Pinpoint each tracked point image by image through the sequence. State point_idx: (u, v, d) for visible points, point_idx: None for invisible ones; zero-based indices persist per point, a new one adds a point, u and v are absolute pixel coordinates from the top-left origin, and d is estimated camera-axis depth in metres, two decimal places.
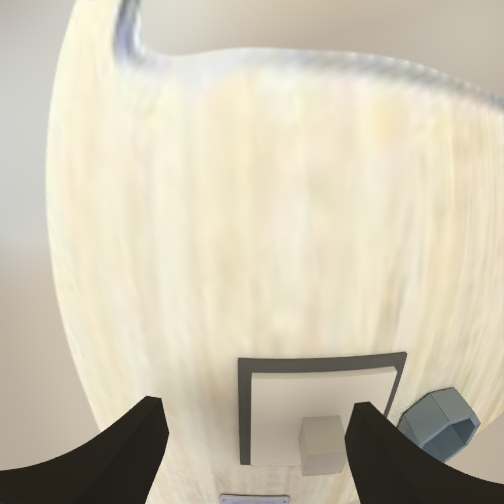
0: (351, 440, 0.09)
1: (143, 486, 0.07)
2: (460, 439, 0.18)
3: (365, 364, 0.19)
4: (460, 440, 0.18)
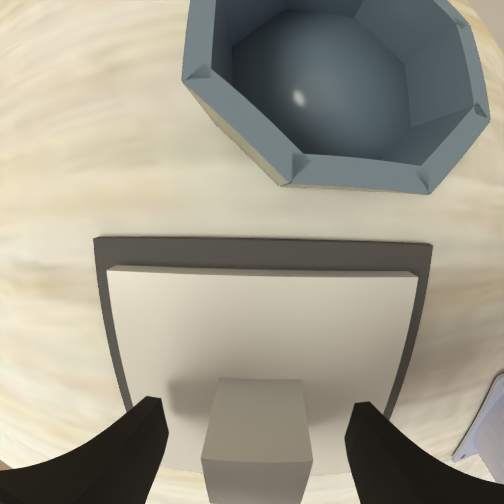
0: (351, 440, 0.09)
1: (143, 486, 0.07)
2: None
3: None
4: None
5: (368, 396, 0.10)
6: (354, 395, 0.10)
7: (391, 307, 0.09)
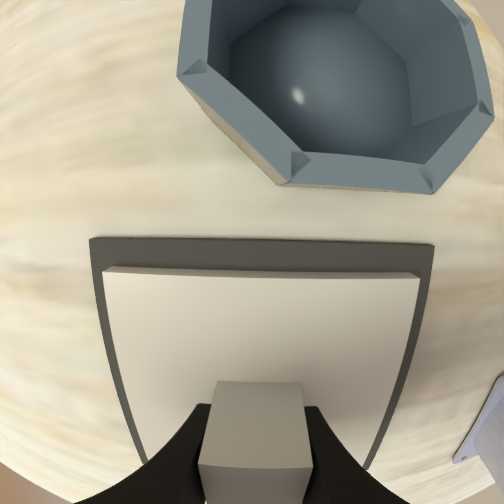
0: None
1: (202, 497, 0.07)
2: None
3: None
4: None
5: (368, 399, 0.10)
6: (354, 398, 0.10)
7: (392, 309, 0.09)
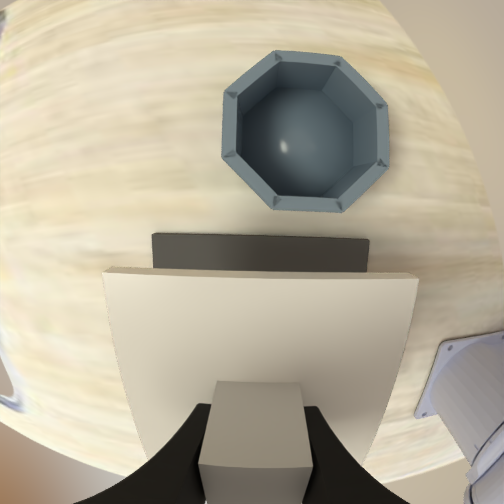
0: None
1: (202, 497, 0.07)
2: (331, 74, 0.12)
3: None
4: (334, 73, 0.11)
5: (368, 399, 0.10)
6: (354, 398, 0.10)
7: (391, 309, 0.09)
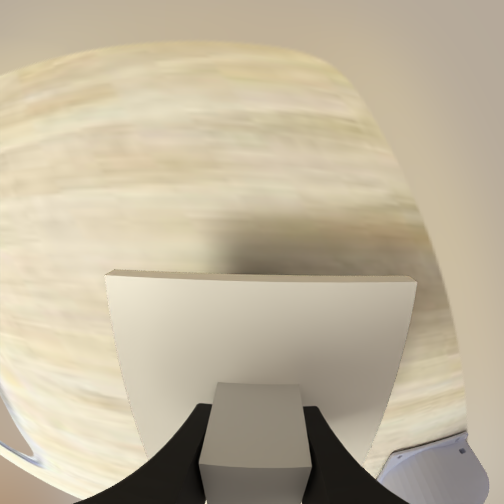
0: None
1: (202, 497, 0.07)
2: None
3: None
4: None
5: (367, 401, 0.10)
6: (353, 400, 0.10)
7: (390, 312, 0.09)
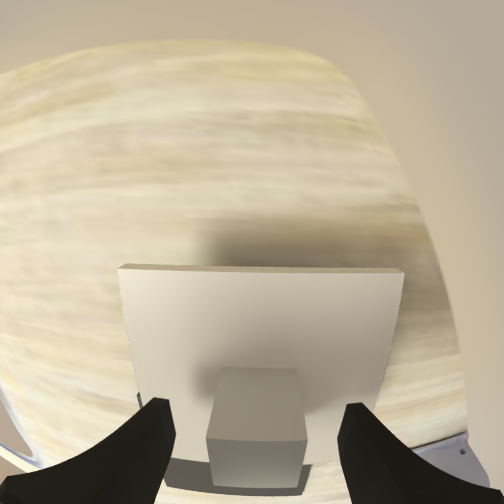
0: (343, 441, 0.09)
1: (151, 488, 0.07)
2: None
3: None
4: None
5: (360, 385, 0.11)
6: (347, 384, 0.11)
7: (379, 301, 0.10)
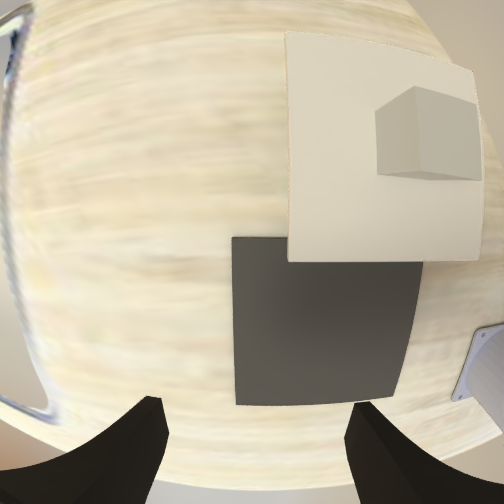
0: (351, 440, 0.09)
1: (143, 486, 0.07)
2: None
3: (240, 293, 0.18)
4: None
5: None
6: None
7: (464, 83, 0.10)
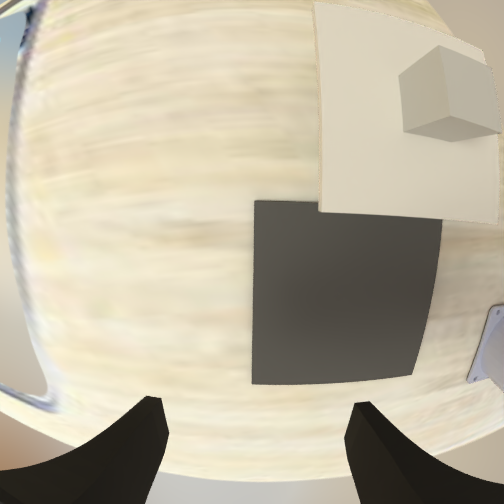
0: (351, 440, 0.09)
1: (143, 486, 0.07)
2: None
3: (262, 259, 0.18)
4: None
5: None
6: None
7: (476, 60, 0.10)
